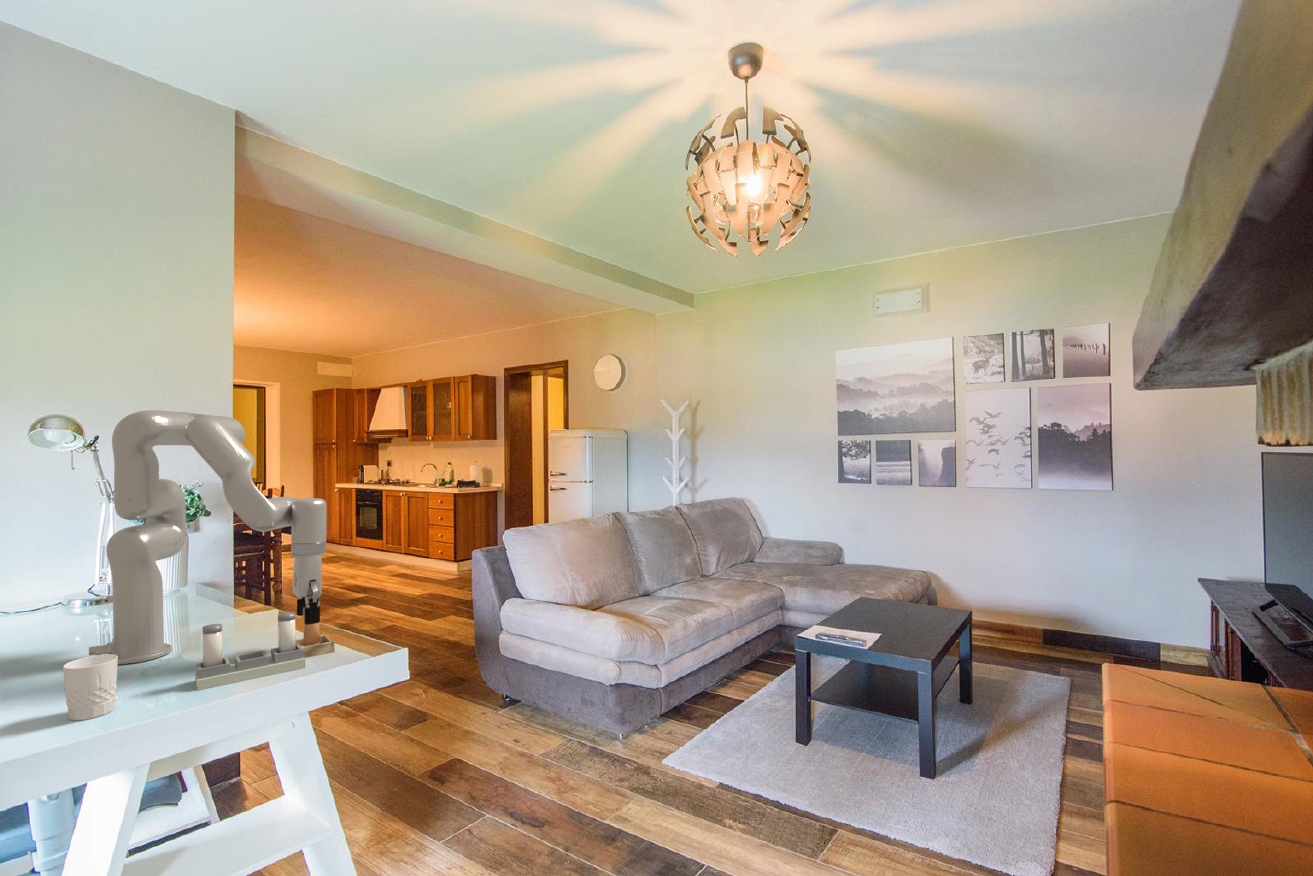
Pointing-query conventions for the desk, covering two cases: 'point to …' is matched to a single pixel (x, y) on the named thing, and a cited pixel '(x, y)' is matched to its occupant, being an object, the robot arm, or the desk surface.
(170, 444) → the robot arm
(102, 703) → the white cup
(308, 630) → the cylinder
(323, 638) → the tray
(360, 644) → the desk surface
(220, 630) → the cylinder
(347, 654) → the desk surface
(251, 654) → the fuse holder
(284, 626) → the cylinder
